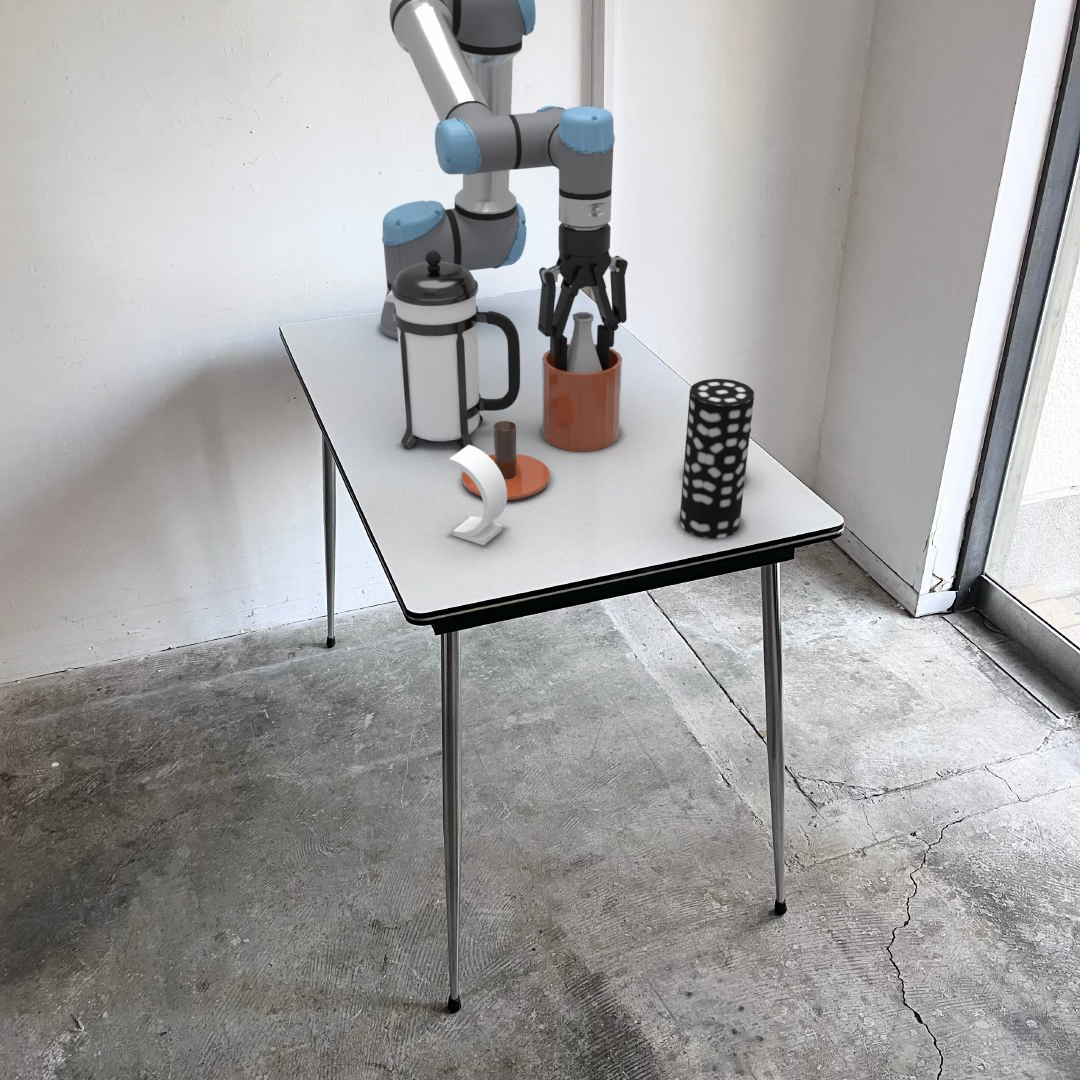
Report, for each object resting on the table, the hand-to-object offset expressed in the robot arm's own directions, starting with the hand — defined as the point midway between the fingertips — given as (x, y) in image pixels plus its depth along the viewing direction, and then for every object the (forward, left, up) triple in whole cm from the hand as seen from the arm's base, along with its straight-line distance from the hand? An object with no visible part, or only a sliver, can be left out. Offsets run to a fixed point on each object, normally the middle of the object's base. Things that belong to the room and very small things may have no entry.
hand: (581, 370), depth 169 cm
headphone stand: (+21, -26, -11) cm, 35 cm away
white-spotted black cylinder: (+32, +4, -11) cm, 34 cm away
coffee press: (-9, -19, -11) cm, 24 cm away
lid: (+9, -17, -10) cm, 22 cm away
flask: (0, 0, -1) cm, 1 cm away
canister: (0, 0, -11) cm, 11 cm away
